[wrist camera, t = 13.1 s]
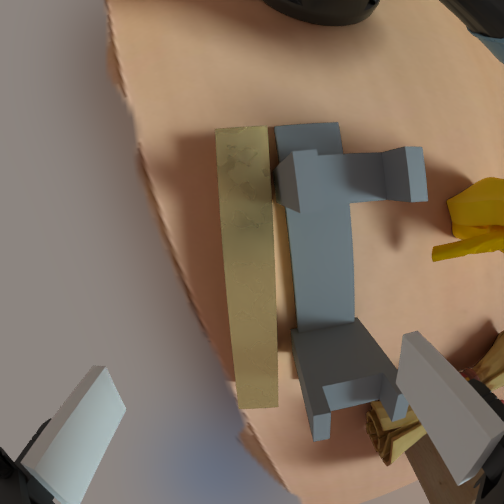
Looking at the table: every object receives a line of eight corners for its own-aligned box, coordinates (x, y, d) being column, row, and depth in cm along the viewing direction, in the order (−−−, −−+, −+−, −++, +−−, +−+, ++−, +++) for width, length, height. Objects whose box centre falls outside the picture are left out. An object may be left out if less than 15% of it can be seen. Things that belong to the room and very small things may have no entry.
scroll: (362, 432, 33) (382, 481, 23) (357, 391, 31) (383, 445, 21) (497, 359, 31) (529, 387, 22) (504, 314, 29) (544, 339, 20)
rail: (221, 140, 25) (214, 129, 20) (264, 137, 25) (267, 125, 20) (240, 380, 31) (239, 408, 26) (274, 378, 30) (278, 407, 26)
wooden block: (418, 413, 32) (474, 502, 13) (463, 397, 32) (521, 468, 13) (401, 450, 35) (439, 531, 15) (444, 435, 34) (487, 503, 15)
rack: (266, 129, 25) (279, 76, 12) (341, 124, 24) (408, 79, 12) (294, 380, 30) (313, 467, 17) (355, 368, 30) (396, 446, 17)
